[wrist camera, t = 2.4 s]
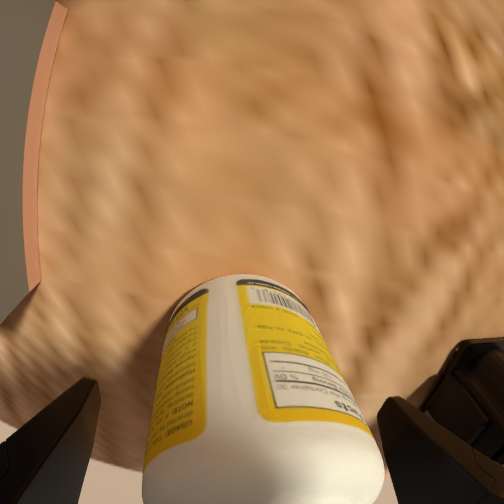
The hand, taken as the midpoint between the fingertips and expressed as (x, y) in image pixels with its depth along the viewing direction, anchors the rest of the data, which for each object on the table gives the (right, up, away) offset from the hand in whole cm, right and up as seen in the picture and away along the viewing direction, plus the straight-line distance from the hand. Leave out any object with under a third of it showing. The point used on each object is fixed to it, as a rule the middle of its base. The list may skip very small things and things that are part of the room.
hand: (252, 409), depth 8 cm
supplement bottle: (0, +1, +4) cm, 4 cm away
